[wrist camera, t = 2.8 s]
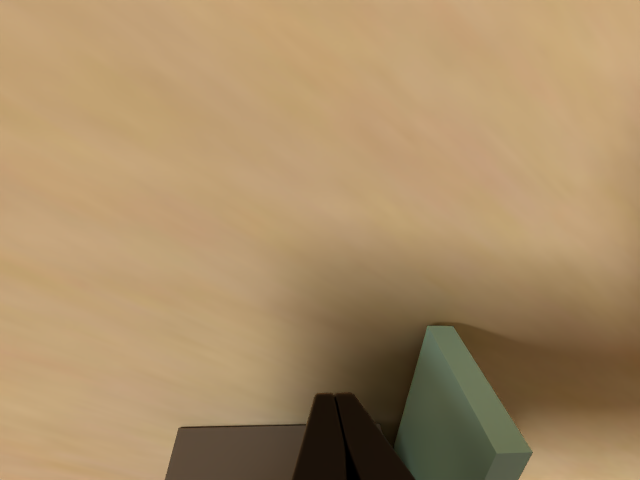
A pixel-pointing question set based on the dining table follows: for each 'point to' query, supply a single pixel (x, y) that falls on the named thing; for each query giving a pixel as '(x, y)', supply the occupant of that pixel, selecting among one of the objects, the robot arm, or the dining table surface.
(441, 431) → the side door
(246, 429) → the camera body
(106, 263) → the dining table surface
